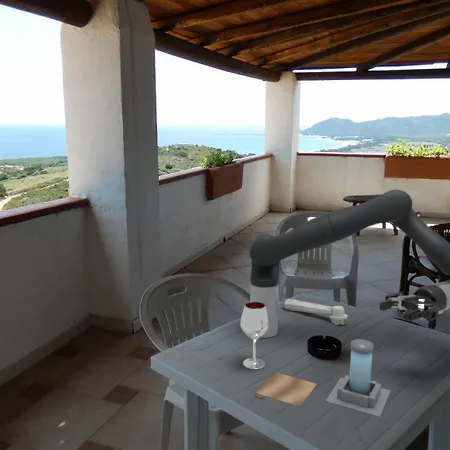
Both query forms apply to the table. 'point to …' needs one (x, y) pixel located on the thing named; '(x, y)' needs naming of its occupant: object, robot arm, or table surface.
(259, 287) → the robot arm
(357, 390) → the filter cartridge
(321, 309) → the toothbrush head
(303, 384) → the light brown wooden board
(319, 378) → the table surface
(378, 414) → the cartridge housing
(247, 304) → the wineglass
